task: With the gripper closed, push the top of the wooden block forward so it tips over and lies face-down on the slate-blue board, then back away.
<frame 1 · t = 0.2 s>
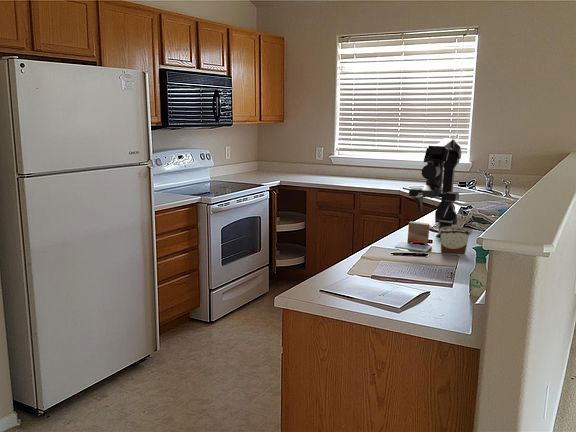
hand: (431, 215, 214), 14 cm above the table, fingers open, 9 cm apart
wooden block: (417, 243, 226), on the table
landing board: (413, 247, 221), on the table
food container: (450, 252, 214), on the table
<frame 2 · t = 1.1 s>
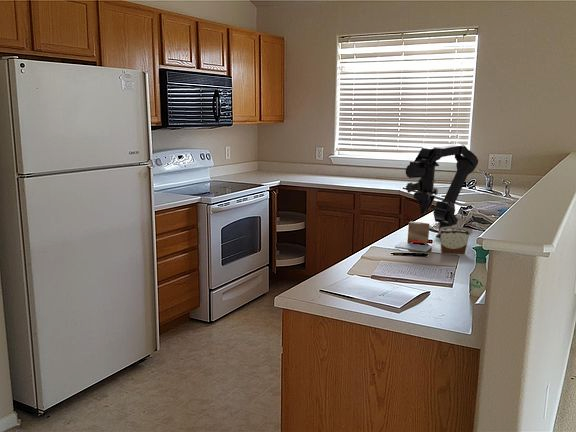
hand: (424, 212, 231), 12 cm above the table, fingers open, 6 cm apart
nothing on the table moved.
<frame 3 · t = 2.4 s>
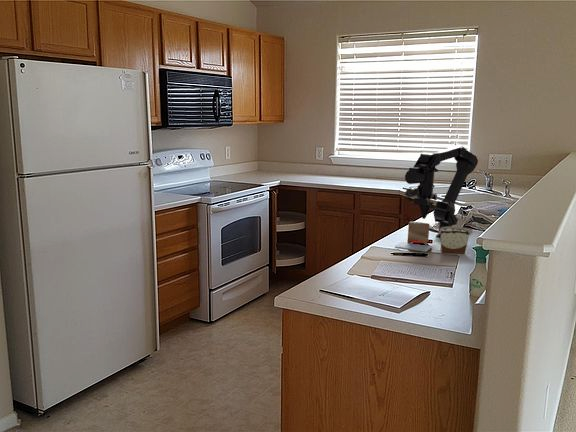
hand: (423, 218, 231), 10 cm above the table, fingers closed
nothing on the table moved.
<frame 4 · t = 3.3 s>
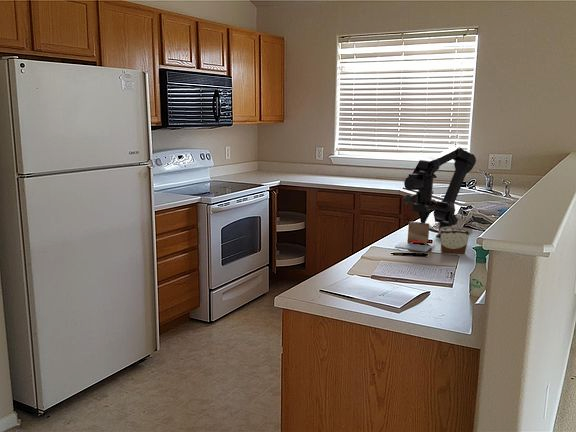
hand: (422, 224, 230), 7 cm above the table, fingers closed
nothing on the table moved.
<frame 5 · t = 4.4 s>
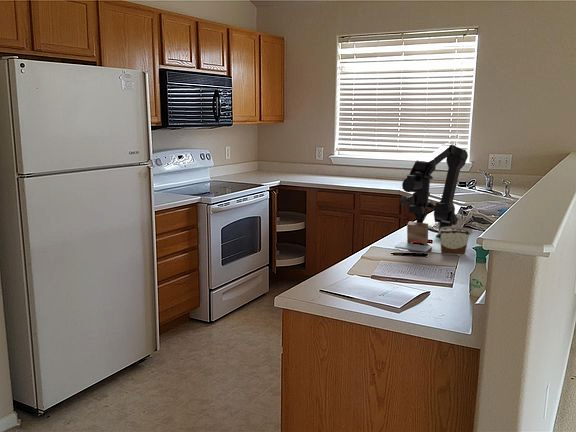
hand: (419, 227, 225), 7 cm above the table, fingers closed
wooden block: (417, 243, 226), on the table, tilted 16°
everything else where it was.
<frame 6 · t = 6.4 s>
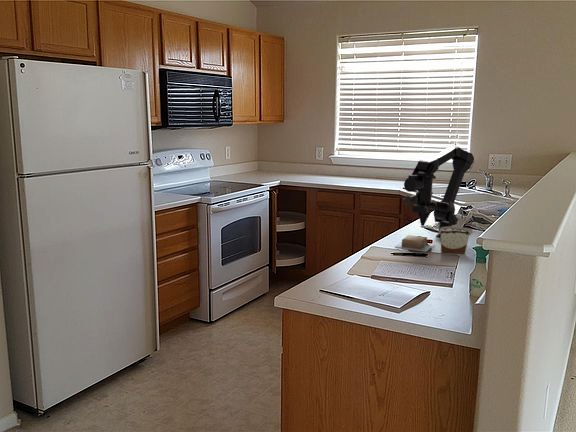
hand: (422, 225, 230), 7 cm above the table, fingers closed
wooden block: (417, 240, 225), point 2 cm above the table, tilted 90°, touching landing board
everything else where it was.
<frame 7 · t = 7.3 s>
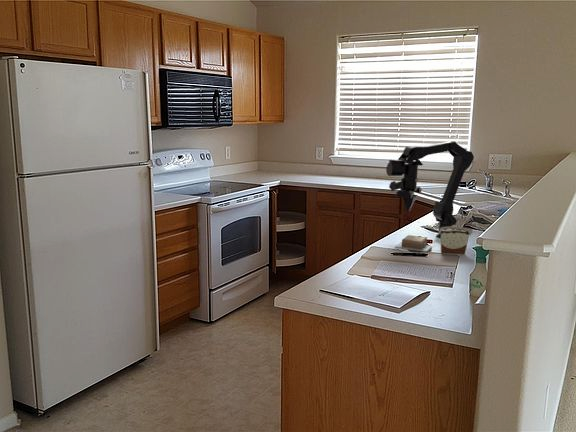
hand: (407, 211, 233), 12 cm above the table, fingers closed
nothing on the table moved.
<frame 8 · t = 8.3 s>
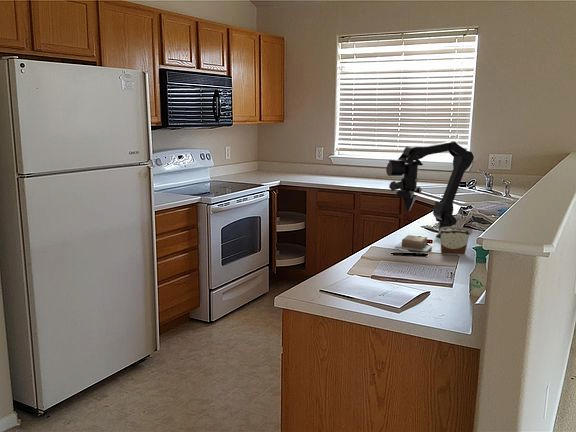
hand: (407, 211, 233), 12 cm above the table, fingers closed
nothing on the table moved.
at the end: wooden block tilted 90°; wooden block inside the target area (2.3 cm from its centre), point 1.9 cm above the table; wooden block touching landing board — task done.
